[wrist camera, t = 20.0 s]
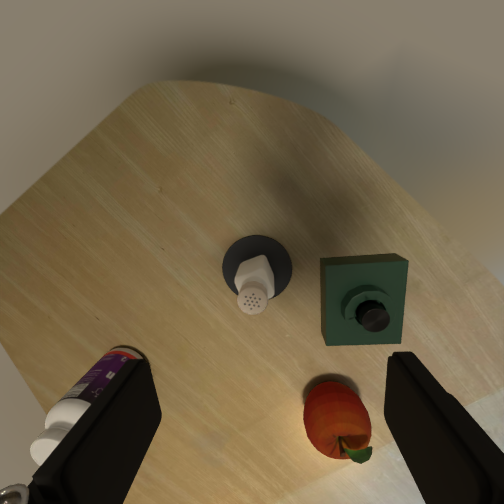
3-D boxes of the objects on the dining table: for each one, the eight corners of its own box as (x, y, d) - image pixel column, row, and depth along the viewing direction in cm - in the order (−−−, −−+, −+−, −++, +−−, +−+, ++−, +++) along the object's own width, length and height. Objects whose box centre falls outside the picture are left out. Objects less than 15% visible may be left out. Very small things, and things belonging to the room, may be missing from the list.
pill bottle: (158, 375, 40) (100, 474, 27) (121, 387, 42) (47, 487, 28) (134, 338, 39) (59, 423, 25) (96, 352, 40) (5, 440, 26)
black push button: (356, 300, 29) (362, 309, 27) (382, 299, 29) (391, 308, 27) (355, 323, 30) (361, 333, 28) (381, 322, 29) (389, 332, 28)
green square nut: (320, 258, 32) (328, 270, 28) (395, 253, 31) (417, 265, 27) (321, 332, 36) (329, 355, 31) (389, 329, 35) (408, 352, 30)
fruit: (291, 379, 39) (298, 444, 29) (347, 363, 37) (375, 426, 27) (310, 421, 41) (323, 494, 31) (365, 407, 39) (396, 480, 29)
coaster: (218, 237, 33) (218, 238, 32) (290, 232, 32) (290, 233, 31) (227, 301, 35) (226, 302, 35) (293, 298, 34) (293, 299, 34)
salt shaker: (249, 286, 34) (242, 323, 25) (238, 262, 33) (227, 291, 24) (275, 277, 33) (277, 311, 24) (264, 252, 32) (262, 278, 23)
